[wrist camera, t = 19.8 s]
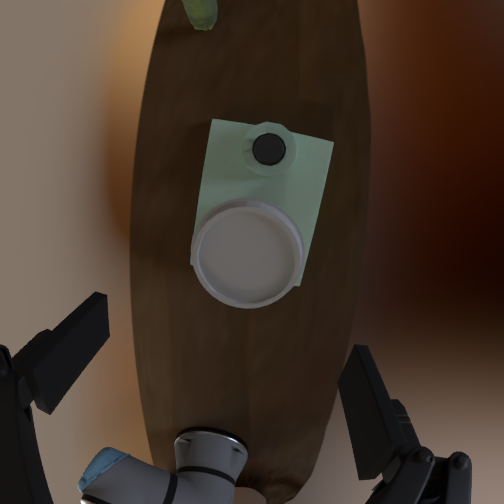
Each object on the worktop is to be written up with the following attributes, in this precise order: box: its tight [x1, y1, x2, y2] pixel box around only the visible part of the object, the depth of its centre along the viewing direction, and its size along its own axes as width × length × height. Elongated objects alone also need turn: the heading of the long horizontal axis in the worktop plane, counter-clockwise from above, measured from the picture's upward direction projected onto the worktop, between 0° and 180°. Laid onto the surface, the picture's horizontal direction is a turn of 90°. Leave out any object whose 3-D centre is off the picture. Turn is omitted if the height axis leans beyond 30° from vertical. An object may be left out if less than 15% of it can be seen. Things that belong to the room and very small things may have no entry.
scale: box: [190, 119, 334, 286], centre depth 33 cm, size 18×14×3 cm
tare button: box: [254, 135, 284, 163], centre depth 29 cm, size 3×3×2 cm
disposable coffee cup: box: [191, 198, 305, 308], centre depth 29 cm, size 10×10×12 cm
